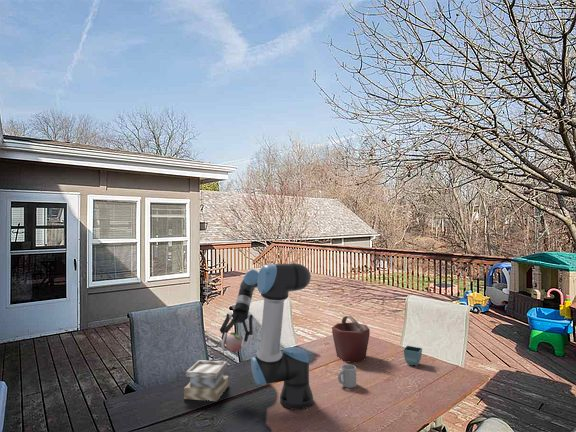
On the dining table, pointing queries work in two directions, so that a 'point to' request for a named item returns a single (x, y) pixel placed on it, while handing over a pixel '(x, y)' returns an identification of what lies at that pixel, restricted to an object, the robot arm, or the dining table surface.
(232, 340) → the decorative fruit
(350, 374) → the cup
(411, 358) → the flower pot
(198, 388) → the block tower
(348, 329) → the bucket
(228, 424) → the dining table surface
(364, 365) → the dining table surface
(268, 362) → the robot arm
